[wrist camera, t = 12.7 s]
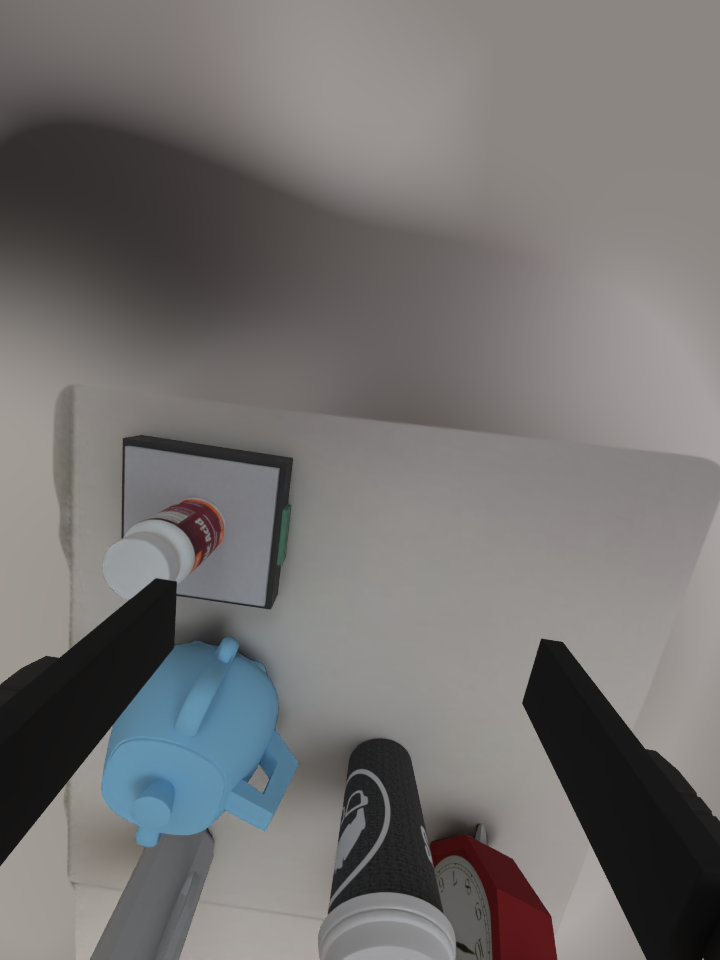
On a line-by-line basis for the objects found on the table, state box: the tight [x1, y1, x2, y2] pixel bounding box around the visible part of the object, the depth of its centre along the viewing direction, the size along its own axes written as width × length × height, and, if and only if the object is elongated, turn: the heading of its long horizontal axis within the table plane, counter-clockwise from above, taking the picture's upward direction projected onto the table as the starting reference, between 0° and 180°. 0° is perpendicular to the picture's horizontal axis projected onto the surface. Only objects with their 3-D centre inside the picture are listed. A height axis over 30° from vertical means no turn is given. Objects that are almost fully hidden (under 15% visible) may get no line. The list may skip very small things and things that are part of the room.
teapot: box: [102, 637, 299, 847], centre depth 31 cm, size 20×17×12 cm
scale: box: [122, 435, 293, 609], centre depth 32 cm, size 13×13×3 cm
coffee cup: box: [318, 739, 456, 960], centre depth 31 cm, size 10×10×15 cm
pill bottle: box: [102, 498, 226, 600], centre depth 26 cm, size 5×5×8 cm
